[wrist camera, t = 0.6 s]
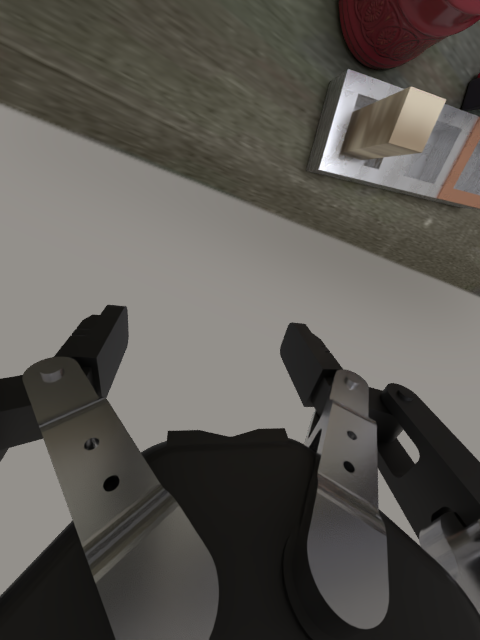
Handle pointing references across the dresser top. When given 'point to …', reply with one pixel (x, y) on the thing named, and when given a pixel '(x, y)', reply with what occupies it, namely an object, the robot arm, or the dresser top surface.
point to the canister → (401, 27)
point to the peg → (392, 125)
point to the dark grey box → (472, 95)
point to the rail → (404, 170)
